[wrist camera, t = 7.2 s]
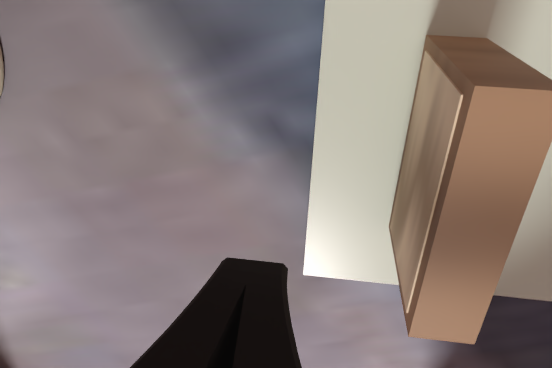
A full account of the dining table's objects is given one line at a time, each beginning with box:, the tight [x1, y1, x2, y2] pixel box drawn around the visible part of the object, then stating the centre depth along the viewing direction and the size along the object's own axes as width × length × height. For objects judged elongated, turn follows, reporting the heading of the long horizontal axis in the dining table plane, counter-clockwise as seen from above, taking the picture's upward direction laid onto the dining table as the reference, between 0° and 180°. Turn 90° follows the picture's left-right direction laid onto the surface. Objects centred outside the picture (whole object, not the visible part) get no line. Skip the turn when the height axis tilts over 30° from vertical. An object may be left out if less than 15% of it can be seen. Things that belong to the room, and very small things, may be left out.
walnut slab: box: [389, 35, 552, 344], centre depth 14 cm, size 8×2×6 cm, turn 178°
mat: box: [303, 0, 552, 301], centre depth 16 cm, size 16×14×1 cm
